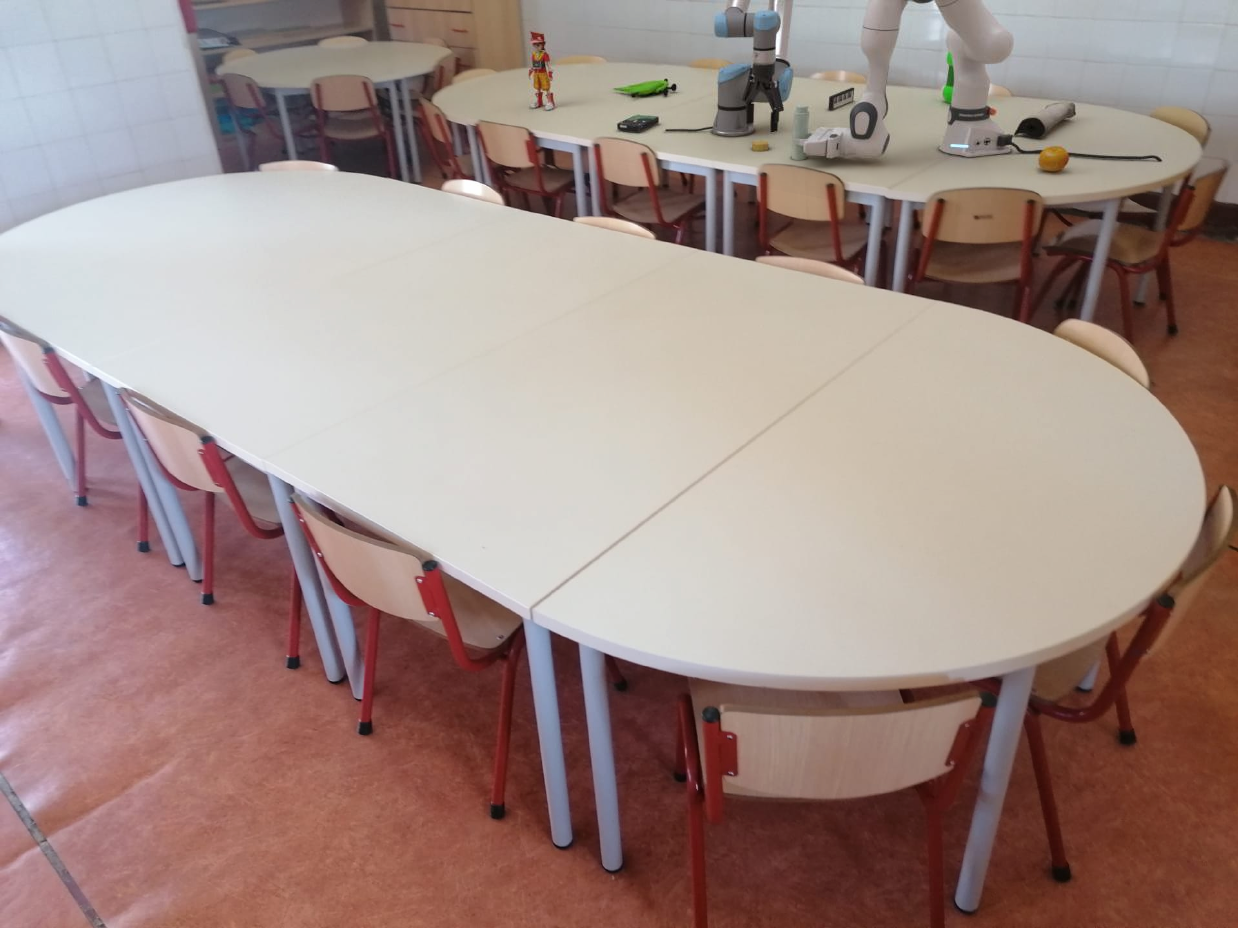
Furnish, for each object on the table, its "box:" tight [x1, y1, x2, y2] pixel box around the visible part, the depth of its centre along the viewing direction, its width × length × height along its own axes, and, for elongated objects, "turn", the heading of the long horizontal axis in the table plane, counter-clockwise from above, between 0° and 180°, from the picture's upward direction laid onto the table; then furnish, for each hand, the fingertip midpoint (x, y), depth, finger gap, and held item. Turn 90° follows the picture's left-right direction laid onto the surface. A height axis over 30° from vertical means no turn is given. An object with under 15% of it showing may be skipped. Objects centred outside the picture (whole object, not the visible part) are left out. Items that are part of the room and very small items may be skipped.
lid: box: [752, 139, 769, 152], centre depth 316 cm, size 6×6×2 cm
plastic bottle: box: [942, 50, 954, 104], centre depth 348 cm, size 10×10×25 cm
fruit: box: [1037, 145, 1070, 172], centre depth 278 cm, size 8×8×8 cm
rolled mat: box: [1013, 101, 1077, 140], centre depth 317 cm, size 30×9×10 cm
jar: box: [791, 104, 810, 161], centre depth 300 cm, size 5×5×17 cm
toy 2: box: [612, 78, 677, 99], centre depth 396 cm, size 28×5×30 cm
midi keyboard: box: [827, 87, 855, 111], centre depth 358 cm, size 18×1×5 cm, turn 138°
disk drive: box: [616, 114, 660, 133], centre depth 347 cm, size 10×3×15 cm
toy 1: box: [527, 31, 556, 111], centre depth 374 cm, size 12×9×30 cm
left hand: (761, 127), depth 313 cm, fingers open, 13 cm apart
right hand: (797, 138), depth 302 cm, fingers closed on jar, 5 cm apart
